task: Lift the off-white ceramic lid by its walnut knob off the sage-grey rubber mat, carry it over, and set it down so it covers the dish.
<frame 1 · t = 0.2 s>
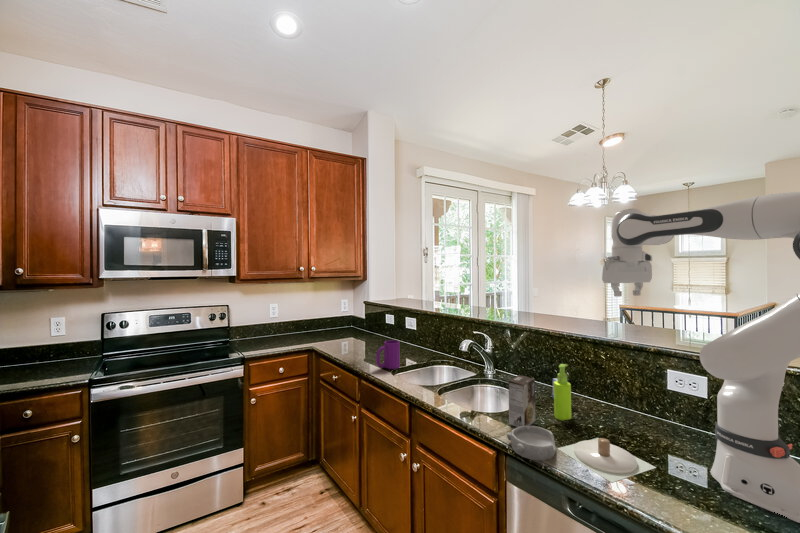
hand: (627, 296, 116), 47 cm above the counter, fingers open, 8 cm apart
lid: (604, 457, 99), point 1 cm above the counter, touching mat
medicine box: (561, 401, 143), on the counter
dish: (532, 451, 104), on the counter
mug: (387, 368, 193), on the counter
mat: (604, 459, 99), on the counter
soap dispenser: (563, 417, 127), on the counter
coffee box: (522, 423, 123), on the counter
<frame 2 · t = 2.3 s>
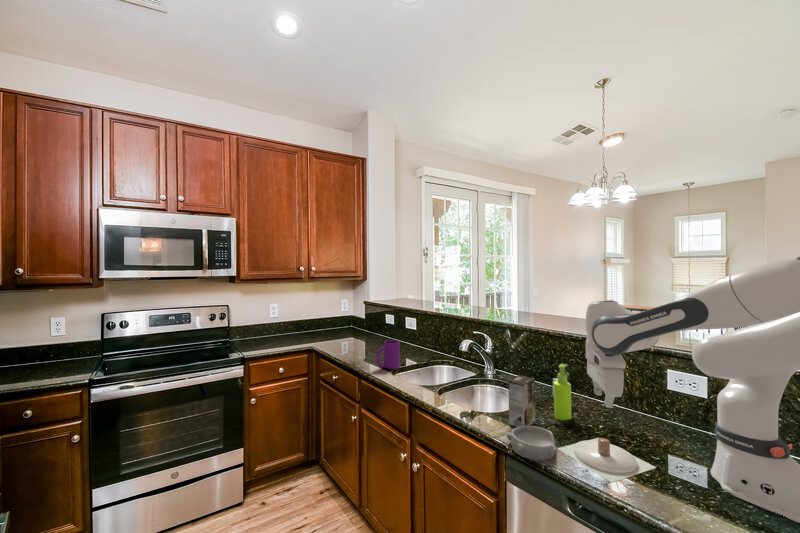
hand: (603, 400, 99), 17 cm above the counter, fingers open, 8 cm apart
nothing on the counter moved.
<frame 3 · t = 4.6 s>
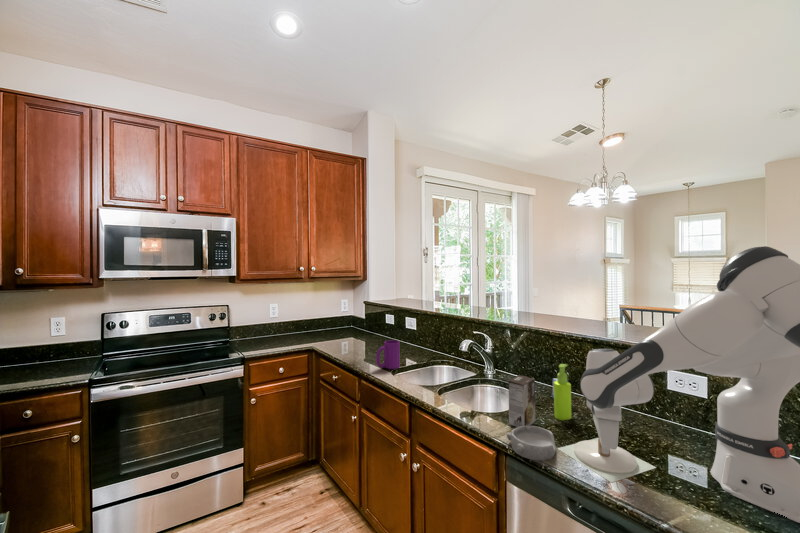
hand: (604, 449, 99), 3 cm above the counter, fingers closed on lid, 3 cm apart
lid: (604, 457, 99), point 1 cm above the counter, touching gripper, mat
everything else where it was.
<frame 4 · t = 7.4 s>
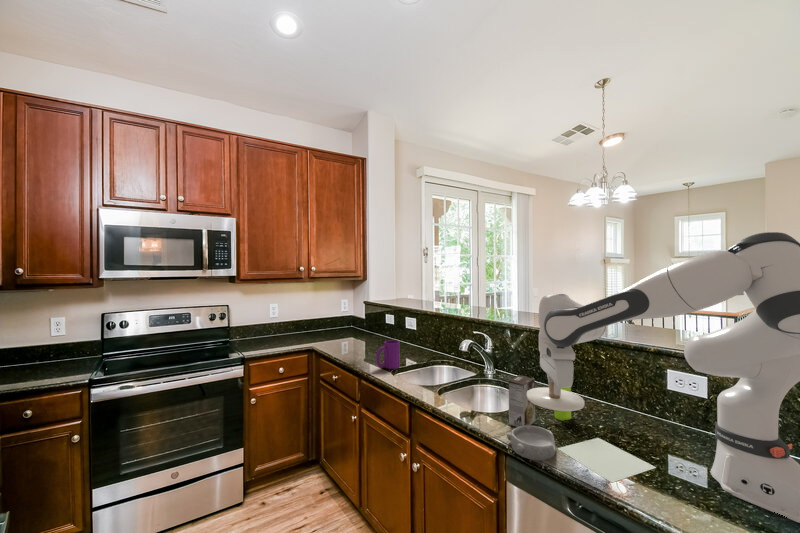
hand: (554, 391, 101), 19 cm above the counter, fingers closed on lid, 3 cm apart
lid: (554, 400, 101), point 17 cm above the counter, touching gripper
everything else where it was.
when the fingers open (9 cm above the counter, at t = 10.5 s): lid drops 2 cm, resting on dish.
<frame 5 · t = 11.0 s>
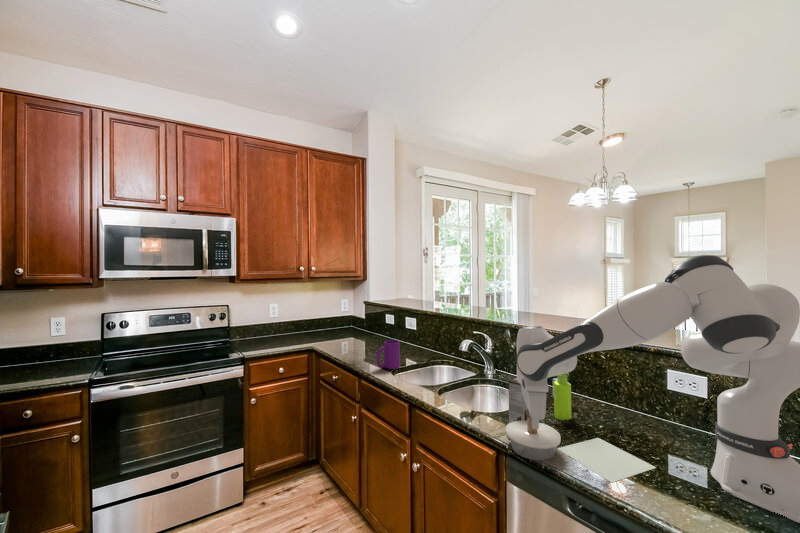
hand: (532, 421, 104), 9 cm above the counter, fingers open, 8 cm apart
lid: (532, 435, 104), point 5 cm above the counter, touching dish
dish: (532, 451, 104), on the counter, touching lid
everything else where it was.
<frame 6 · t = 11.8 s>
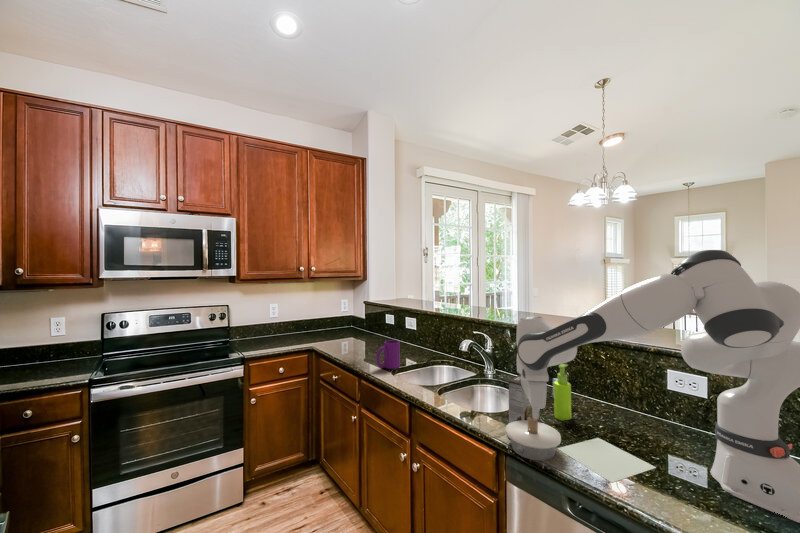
hand: (532, 411, 105), 12 cm above the counter, fingers open, 8 cm apart
nothing on the counter moved.
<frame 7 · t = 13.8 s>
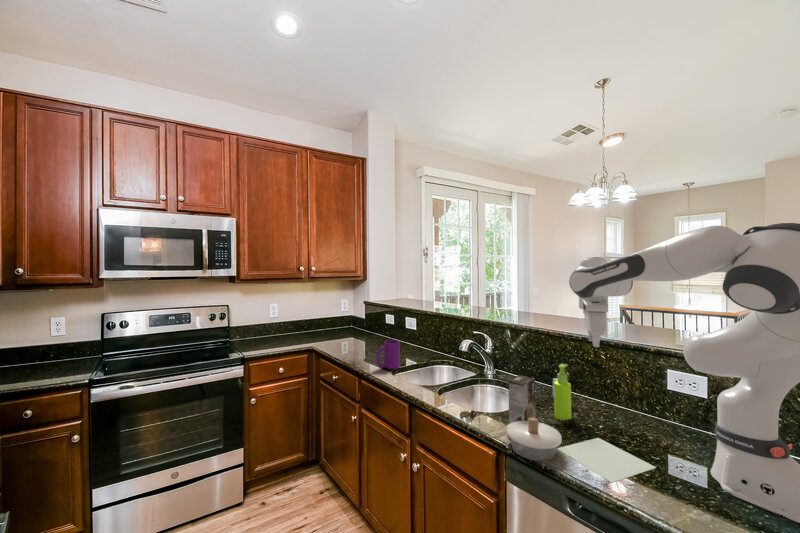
hand: (593, 343, 115), 31 cm above the counter, fingers open, 8 cm apart
nothing on the counter moved.
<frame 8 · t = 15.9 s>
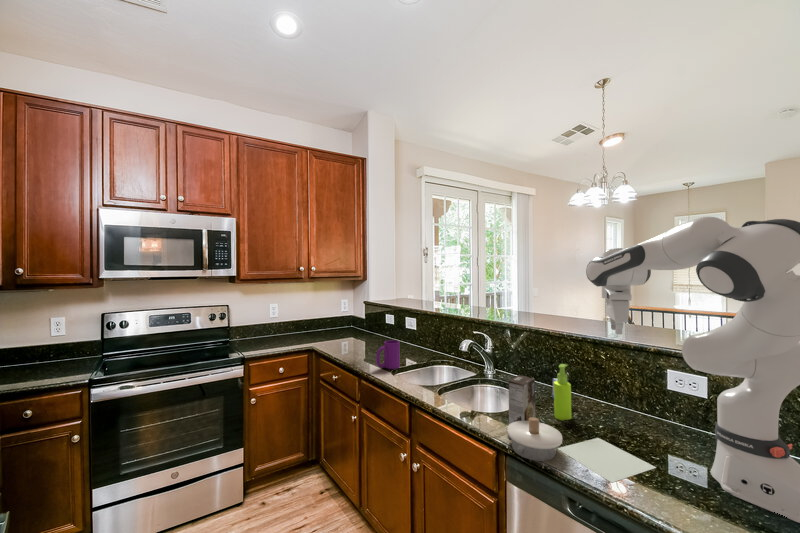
hand: (616, 331, 120), 34 cm above the counter, fingers open, 8 cm apart
nothing on the counter moved.
at the end: lid 0.4 cm from the dish (horizontally); lid point 4.7 cm above the counter; lid tilted 0° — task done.
